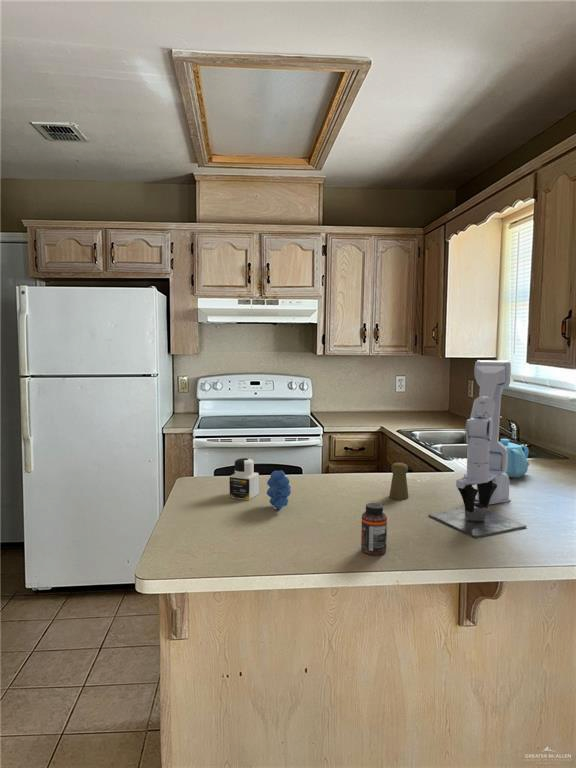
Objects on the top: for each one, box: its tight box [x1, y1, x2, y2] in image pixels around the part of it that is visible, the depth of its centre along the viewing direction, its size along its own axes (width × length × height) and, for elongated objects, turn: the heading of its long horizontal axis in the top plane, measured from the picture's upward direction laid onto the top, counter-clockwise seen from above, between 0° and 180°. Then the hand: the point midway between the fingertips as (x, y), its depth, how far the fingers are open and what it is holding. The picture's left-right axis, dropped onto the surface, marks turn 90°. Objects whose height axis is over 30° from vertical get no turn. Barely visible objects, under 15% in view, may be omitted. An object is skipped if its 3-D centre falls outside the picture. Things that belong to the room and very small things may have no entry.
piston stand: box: [428, 507, 527, 539], centre depth 141 cm, size 18×18×3 cm
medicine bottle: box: [229, 457, 260, 501], centre depth 164 cm, size 7×7×12 cm
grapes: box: [266, 470, 292, 510], centre depth 152 cm, size 12×7×12 cm, turn 31°
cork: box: [388, 462, 410, 501], centre depth 163 cm, size 6×6×11 cm
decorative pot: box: [490, 438, 530, 479], centre depth 190 cm, size 16×16×14 cm
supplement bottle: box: [360, 502, 388, 556], centre depth 121 cm, size 6×6×11 cm
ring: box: [465, 501, 487, 521], centre depth 142 cm, size 5×5×4 cm
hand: (476, 509), depth 141 cm, fingers open, 5 cm apart
